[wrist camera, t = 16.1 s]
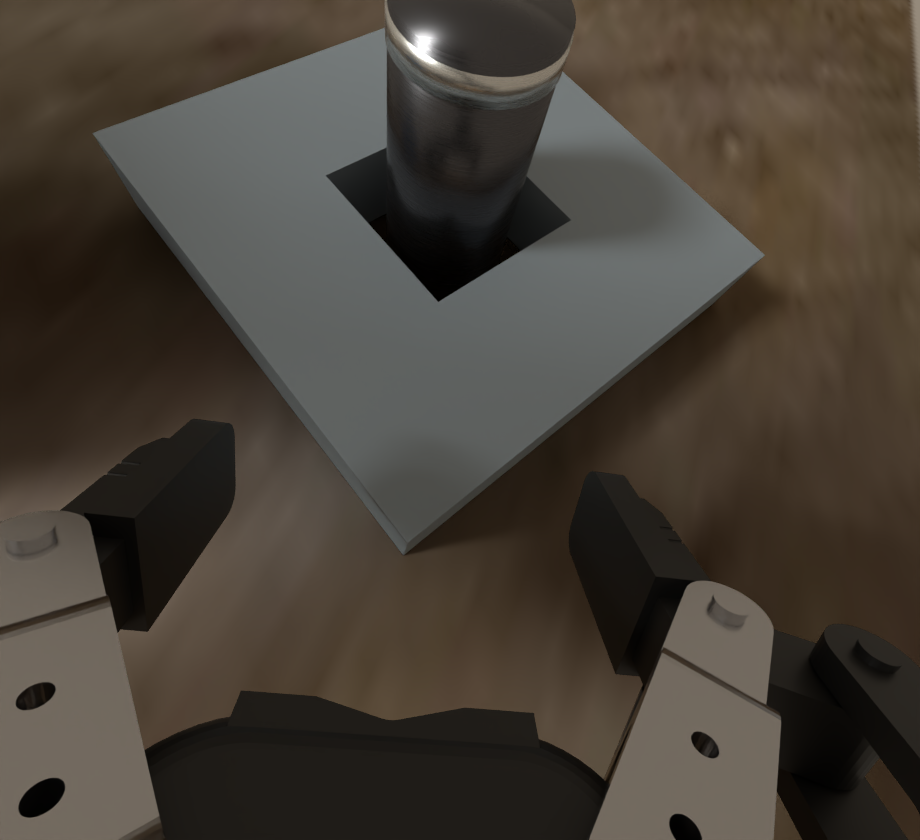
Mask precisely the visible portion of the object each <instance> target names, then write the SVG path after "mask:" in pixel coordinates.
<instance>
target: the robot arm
mask: <svg viewBox="0 0 920 840" xmlns="http://www.w3.org/2000/svg"><path fill="white" fill-rule="evenodd" d="M234 495H235V436H234V429H233V426H232V425H231V424H230V423H222V422H214V421H206V420H199V419H192V420H190V421H189V422H188V423H187V424H186V425H185V426H183V427H182V428H181V429H180V430H179V431H178V432H176V433H175V434H174V435H173V436H172V437H171V438H161V439H158V440H156V441H153V442H151V443H148V444H146V445H143V446H141V447H139V448H137V449H136V450H135V451H133V452H132V453H131V454H130V455H128V456H127V457H126V458H125V459H123V460H122V462H121V464H117V465H116V466H115V467H113V468H112V469H111V470H110V471H109V472H108V474H107V475H104V476H102V477H101V478H100V479H99V480H97V481H96V482H95V483H94V484H92V485H91V486H90V487H89V488H87V489H86V490H85V491H84V492H82V493H81V494H80V495H79V496H77V497H76V498H75V499H74V500H73V501H71V502H70V503H69V504H68V505H66V506H65V507H64V508H63V509H61V510H60V511H40V512H33V513H28V514H24V515H19V516H16V517H13V518H9V519H7V520H4V521H1V522H0V840H773V838H774V823H775V808H776V793H777V792H778V794H779V796H780V798H781V800H782V802H783V804H784V806H785V808H786V809H787V811H788V813H789V815H790V817H791V819H792V821H793V823H794V825H795V827H796V828H797V830H798V832H799V834H800V836H801V838H802V840H908V839H907V837H906V836H905V835H904V833H903V832H902V830H901V829H900V827H899V826H898V824H897V823H896V822H895V820H894V819H893V817H892V816H891V814H890V813H889V811H888V810H887V809H886V807H885V806H884V804H883V803H882V801H881V800H880V799H879V797H878V796H877V794H876V793H875V791H874V790H873V788H872V787H871V786H870V784H869V783H868V781H867V780H866V778H865V776H866V774H867V773H868V772H869V770H870V769H871V768H872V767H873V765H874V764H875V763H876V762H877V760H878V759H879V758H880V759H881V760H882V761H883V763H884V764H885V765H886V767H887V768H888V769H889V771H890V772H891V773H892V775H893V776H894V777H895V779H896V780H897V781H898V783H899V784H900V785H901V787H902V788H903V789H904V791H905V792H906V793H907V795H908V796H909V797H910V799H911V800H912V802H913V803H914V805H915V806H916V808H917V810H918V812H919V814H920V668H919V667H918V666H917V665H916V664H915V663H914V662H913V661H912V660H911V659H910V658H909V657H908V656H906V655H905V654H904V653H903V652H902V651H900V650H899V649H897V648H896V647H895V646H893V645H892V644H890V643H888V642H887V641H885V640H883V639H882V638H880V637H878V636H876V635H874V634H872V633H870V632H868V631H865V630H862V629H860V628H857V627H854V626H850V625H845V624H832V625H829V626H828V627H827V628H826V629H825V630H824V632H823V634H822V635H821V637H820V638H819V640H818V642H817V643H813V642H810V641H807V640H804V639H801V638H798V637H795V636H792V635H789V634H786V633H783V632H780V631H777V630H774V629H773V625H772V623H771V621H770V619H769V617H768V616H767V615H766V613H765V612H764V611H763V610H762V609H761V608H760V607H759V606H758V605H757V604H756V603H755V602H753V601H752V600H751V599H749V598H748V597H746V596H745V595H743V594H742V593H740V592H738V591H736V590H734V589H732V588H730V587H728V586H725V585H722V584H719V583H715V582H711V581H710V579H709V578H708V576H707V575H706V574H705V572H704V571H703V569H702V568H701V567H700V565H699V564H698V562H697V561H696V560H695V558H694V557H693V556H692V554H691V553H690V551H689V550H688V549H687V547H686V546H685V544H682V543H681V541H682V540H681V539H680V538H679V536H678V535H677V533H676V532H675V531H672V526H671V525H670V524H669V522H668V521H667V519H666V518H665V517H664V515H663V514H662V513H661V512H660V511H659V510H657V509H656V508H655V507H654V506H652V505H651V504H650V503H649V502H647V501H646V500H645V499H642V498H639V496H638V495H637V493H636V492H635V491H634V489H633V488H632V486H631V485H630V483H629V482H628V480H627V479H626V477H625V476H623V475H617V474H609V473H602V472H594V471H591V472H590V473H589V474H588V475H587V476H586V479H585V481H584V484H583V488H582V491H581V494H580V497H579V501H578V504H577V507H576V510H575V514H574V517H573V520H572V523H571V527H570V532H569V549H570V553H571V556H572V559H573V562H574V564H575V567H576V570H577V572H578V575H579V578H580V580H581V583H582V586H583V588H584V591H585V594H586V596H587V599H588V602H589V604H590V607H591V610H592V612H593V615H594V618H595V620H596V623H597V626H598V628H599V631H600V634H601V636H602V639H603V642H604V644H605V647H606V650H607V652H608V655H609V658H610V660H611V663H612V666H613V668H614V671H615V674H620V675H632V676H640V678H641V681H642V683H643V685H642V688H641V690H640V692H639V694H638V697H637V699H636V701H635V704H634V706H633V709H632V711H631V714H630V716H629V719H628V721H627V723H626V726H625V728H624V731H623V733H622V736H621V738H620V741H619V743H618V745H617V748H616V750H615V753H614V755H613V758H612V760H611V763H610V765H609V767H608V770H607V772H606V775H605V777H604V779H603V778H601V777H600V776H599V775H598V774H597V773H596V772H595V771H593V770H592V769H591V768H590V767H588V766H587V765H586V764H584V763H583V762H582V761H580V760H579V759H577V758H576V757H574V756H572V755H571V754H569V753H567V752H566V751H564V750H562V749H560V748H558V747H556V746H554V745H552V744H550V743H548V742H545V741H542V740H539V739H538V734H537V729H536V723H535V718H534V713H526V712H513V711H500V710H487V709H474V708H461V709H456V710H450V711H445V712H439V713H434V714H428V715H423V716H417V717H412V718H406V719H401V720H385V719H381V718H378V717H375V716H372V715H369V714H367V713H364V712H361V711H358V710H355V709H352V708H349V707H346V706H343V705H340V704H337V703H334V702H331V701H328V700H325V699H322V698H320V697H317V696H305V695H292V694H279V693H266V692H253V691H241V692H240V695H239V697H238V700H237V702H236V704H235V707H234V709H233V712H232V714H231V717H226V718H221V719H216V720H213V721H209V722H206V723H202V724H199V725H196V726H193V727H191V728H188V729H186V730H183V731H181V732H178V733H176V734H174V735H172V736H170V737H168V738H166V739H164V740H162V741H160V742H158V743H156V744H154V745H152V746H151V747H149V748H147V749H146V750H144V747H143V743H142V738H141V734H140V730H139V725H138V721H137V716H136V712H135V708H134V703H133V699H132V695H131V690H130V686H129V682H128V677H127V673H126V669H125V664H124V660H123V656H122V651H121V647H120V643H119V638H118V634H117V633H118V632H119V630H120V629H123V630H135V631H146V632H148V631H149V629H150V628H151V626H152V625H153V623H154V622H155V620H156V619H157V617H158V616H159V614H160V613H161V612H162V610H163V609H164V607H165V606H166V604H167V603H168V601H169V600H170V598H171V597H172V595H173V594H174V593H175V591H176V590H177V588H178V587H179V585H180V584H181V582H182V581H183V579H184V578H185V576H186V575H187V574H188V572H189V571H190V569H191V568H192V566H193V565H194V563H195V562H196V560H197V559H198V557H199V556H200V555H201V553H202V552H203V550H204V549H205V547H206V546H207V544H208V543H209V541H210V540H211V538H212V537H213V536H214V534H215V533H216V531H217V530H218V528H219V527H220V525H221V524H222V522H223V521H224V519H225V518H226V517H227V515H228V513H229V511H230V509H231V507H232V504H233V500H234Z"/></svg>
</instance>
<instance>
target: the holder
mask: <svg viewBox="0 0 920 840" xmlns="http://www.w3.org/2000/svg"><path fill="white" fill-rule="evenodd" d="M93 135H94V136H95V138H96V139H97V141H98V143H99V144H100V146H101V148H102V149H103V151H104V152H105V154H106V156H107V157H108V159H109V161H110V162H111V164H112V165H113V167H114V169H115V170H116V172H117V174H118V175H119V177H120V178H121V180H122V182H123V183H124V185H125V187H126V188H127V190H128V191H129V193H130V195H131V196H132V198H133V200H134V201H135V203H136V204H137V206H138V208H139V209H140V210H141V211H142V213H143V214H144V215H145V217H146V218H147V219H148V221H149V222H150V223H151V225H152V226H153V227H154V229H155V230H156V231H157V232H158V234H159V235H160V236H161V238H162V239H163V240H164V242H165V243H166V244H167V246H168V247H169V248H170V250H171V251H172V252H173V254H174V255H175V256H176V257H177V259H178V260H179V261H180V263H181V264H182V265H183V267H184V268H185V269H186V271H187V272H188V273H189V275H190V276H191V277H192V278H193V280H194V281H195V282H196V284H197V285H198V286H199V288H200V289H201V290H202V292H203V293H204V294H205V296H206V297H207V298H208V299H209V301H210V302H211V303H212V305H213V306H214V307H215V309H216V310H217V311H218V313H219V314H220V315H221V317H222V318H223V319H224V320H225V322H226V323H227V324H228V326H229V327H230V328H231V330H232V331H233V332H234V334H235V335H236V336H237V338H238V339H239V340H240V342H241V343H242V344H243V345H244V347H245V348H246V349H247V351H248V352H249V353H250V355H251V356H252V357H253V359H254V360H255V361H256V363H257V364H258V365H259V366H260V368H261V369H262V370H263V372H264V373H265V374H266V376H267V377H268V378H269V380H270V381H271V382H272V384H273V385H274V386H275V387H276V389H277V390H278V391H279V393H280V394H281V395H282V397H283V398H284V399H285V401H286V402H287V403H288V405H289V406H290V407H291V408H292V410H293V411H294V412H295V414H296V415H297V416H298V418H299V419H300V420H301V422H302V423H303V424H304V426H305V427H306V428H307V430H308V431H309V432H310V433H311V435H312V436H313V437H314V439H315V440H316V441H317V443H318V444H319V445H320V447H321V448H322V449H323V451H324V452H325V453H326V454H327V456H328V457H329V458H330V460H331V461H332V462H333V464H334V465H335V466H336V468H337V469H338V470H339V472H340V473H341V474H342V475H343V477H344V478H345V479H346V481H347V482H348V483H349V485H350V486H351V487H352V489H353V490H354V491H355V493H356V494H357V495H358V496H359V498H360V499H361V500H362V502H363V503H364V504H365V506H366V507H367V508H368V510H369V511H370V512H371V514H372V515H373V516H374V518H375V519H376V520H377V521H378V523H379V524H380V525H381V527H382V528H383V529H384V531H385V532H386V533H387V535H388V536H389V537H390V539H391V540H392V541H393V542H394V544H395V545H396V546H397V548H398V549H399V550H400V552H401V553H402V554H403V555H404V554H406V553H407V552H408V551H409V550H411V549H412V548H413V547H414V546H416V545H417V544H418V543H419V542H420V541H422V540H423V539H424V538H425V537H427V536H428V535H429V534H430V533H432V532H433V531H434V530H435V529H436V528H438V527H439V526H440V525H441V524H443V523H444V522H445V521H446V520H448V519H449V518H450V517H451V516H452V515H454V514H455V513H456V512H457V511H459V510H460V509H461V508H462V507H464V506H465V505H466V504H467V503H468V502H470V501H471V500H472V499H473V498H475V497H476V496H477V495H478V494H480V493H481V492H482V491H483V490H484V489H486V488H487V487H488V486H489V485H491V484H492V483H493V482H494V481H496V480H497V479H498V478H499V477H500V476H502V475H503V474H504V473H505V472H507V471H508V470H509V469H510V468H512V467H513V466H514V465H515V464H516V463H518V462H519V461H520V460H521V459H523V458H524V457H525V456H526V455H528V454H529V453H530V452H531V451H532V450H534V449H535V448H536V447H537V446H539V445H540V444H541V443H542V442H543V441H545V440H546V439H547V438H548V437H550V436H551V435H552V434H553V433H555V432H556V431H557V430H558V429H559V428H561V427H562V426H563V425H564V424H566V423H567V422H568V421H569V420H571V419H572V418H573V417H574V416H575V415H577V414H578V413H579V412H580V411H582V410H583V409H584V408H585V407H587V406H588V405H589V404H590V403H591V402H593V401H594V400H595V399H596V398H598V397H599V396H600V395H601V394H603V393H604V392H605V391H606V390H607V389H609V388H610V387H611V386H612V385H614V384H615V383H616V382H617V381H619V380H620V379H621V378H622V377H623V376H625V375H626V374H627V373H628V372H630V371H631V370H632V369H633V368H635V367H636V366H637V365H638V364H639V363H641V362H642V361H643V360H644V359H646V358H647V357H648V356H649V355H651V354H652V353H653V352H654V351H655V350H657V349H658V348H659V347H660V346H662V345H663V344H664V343H665V342H667V341H668V340H669V339H670V338H671V337H673V336H674V335H675V334H676V333H678V332H679V331H680V330H681V329H683V328H684V327H685V326H686V325H687V324H689V323H690V322H691V321H692V320H694V319H695V318H696V317H697V316H699V315H700V314H701V313H702V312H703V311H705V310H706V309H707V308H708V307H710V306H711V305H712V304H713V303H714V302H715V301H716V300H717V299H719V298H720V297H721V296H722V295H723V294H724V293H725V292H726V291H727V290H728V289H729V288H730V287H731V286H732V285H734V284H735V283H736V282H737V281H738V280H739V279H740V278H741V277H742V276H743V275H744V274H745V273H746V272H747V271H749V270H750V269H751V268H752V267H753V266H754V265H755V264H756V263H757V262H758V261H759V260H760V259H761V258H762V257H764V256H765V255H764V254H763V253H762V252H761V251H760V250H759V249H757V248H756V247H755V246H754V245H753V244H752V243H751V242H750V241H749V240H748V239H746V238H745V237H744V236H743V235H742V234H741V233H740V232H739V231H738V230H736V229H735V228H734V227H733V226H732V225H731V224H730V223H729V222H728V221H727V220H725V219H724V218H723V217H722V216H721V215H720V214H719V213H718V212H717V211H716V210H714V209H713V208H712V207H711V206H710V205H709V204H708V203H707V202H706V201H705V200H703V199H702V198H701V197H700V196H699V195H698V194H697V193H696V192H695V191H693V190H692V189H691V188H690V187H689V186H688V185H687V184H686V183H685V182H684V181H682V180H681V179H680V178H679V177H678V176H677V175H676V174H675V173H674V172H673V171H671V170H670V169H669V168H668V167H667V166H666V165H665V164H664V163H663V162H661V161H660V160H659V159H658V158H657V157H656V156H655V155H654V154H653V153H652V152H650V151H649V150H648V149H647V148H646V147H645V146H644V145H643V144H642V143H641V142H639V141H638V140H637V139H636V138H635V137H634V136H633V135H632V134H631V133H630V132H628V131H627V130H626V129H625V128H624V127H623V126H622V125H621V124H620V123H618V122H617V121H616V120H615V119H614V118H613V117H612V116H611V115H610V114H609V113H607V112H606V111H605V110H604V109H603V108H602V107H601V106H600V105H599V104H598V103H596V102H595V101H594V100H593V99H592V98H591V97H590V96H589V95H588V94H586V93H585V92H584V91H583V90H582V89H581V88H580V87H579V86H578V85H577V84H575V83H574V82H573V81H572V80H571V79H570V78H569V77H568V76H567V75H566V74H564V73H563V72H562V74H561V77H560V80H559V81H558V83H557V85H556V87H555V90H554V93H553V96H552V99H551V102H550V105H549V109H548V112H547V115H546V118H545V121H544V124H543V127H542V130H541V133H540V136H539V139H538V142H537V145H536V149H535V152H534V155H533V158H532V161H531V164H530V167H529V170H528V173H527V176H526V179H525V182H524V185H523V188H522V192H521V195H520V198H519V201H518V204H517V207H516V210H515V213H514V216H513V219H512V222H511V225H510V228H509V232H508V235H507V237H508V238H509V239H510V240H511V241H512V242H513V243H514V244H515V245H516V246H517V248H518V249H519V250H520V252H519V253H517V254H515V255H514V256H512V257H510V258H509V259H507V260H506V261H504V262H502V263H501V264H499V265H497V266H496V267H494V268H493V269H491V270H489V271H488V272H486V273H484V274H483V275H481V276H480V277H478V278H476V279H475V280H473V281H471V282H470V283H468V284H467V285H465V286H463V287H462V288H460V289H458V290H457V291H455V292H454V293H452V294H450V295H449V296H447V297H445V298H444V299H442V300H441V301H439V302H438V301H437V300H436V299H435V298H434V297H433V296H432V294H431V293H430V292H429V291H428V290H427V289H426V288H425V287H424V285H423V284H422V283H421V282H420V281H419V280H418V279H417V278H416V276H415V275H414V274H413V273H412V272H411V271H410V270H409V269H408V268H407V266H406V265H405V264H404V263H403V262H402V261H401V260H400V259H399V257H398V256H397V255H396V254H395V253H394V252H393V251H392V250H391V248H390V247H389V246H388V245H387V244H386V243H385V242H384V241H383V239H382V238H381V237H380V236H379V235H378V234H377V233H376V232H375V230H374V229H373V228H372V227H371V226H370V225H369V224H368V223H369V222H371V221H373V220H375V219H377V218H379V217H380V216H382V215H384V214H386V208H387V46H386V42H385V28H383V29H381V30H378V31H375V32H372V33H370V34H367V35H364V36H361V37H358V38H356V39H353V40H350V41H347V42H345V43H342V44H339V45H336V46H333V47H331V48H328V49H325V50H322V51H320V52H317V53H314V54H311V55H308V56H306V57H303V58H300V59H297V60H295V61H292V62H289V63H286V64H283V65H281V66H278V67H275V68H272V69H270V70H267V71H264V72H261V73H258V74H256V75H253V76H250V77H247V78H245V79H242V80H239V81H236V82H233V83H231V84H228V85H225V86H222V87H220V88H217V89H214V90H211V91H208V92H206V93H203V94H200V95H197V96H195V97H192V98H189V99H186V100H183V101H181V102H178V103H175V104H172V105H170V106H167V107H164V108H161V109H158V110H156V111H153V112H150V113H147V114H145V115H142V116H139V117H136V118H133V119H131V120H128V121H125V122H122V123H120V124H117V125H114V126H111V127H108V128H106V129H103V130H100V131H97V132H95V133H93Z"/></svg>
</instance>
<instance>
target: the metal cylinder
mask: <svg viewBox="0 0 920 840" xmlns="http://www.w3.org/2000/svg"><path fill="white" fill-rule="evenodd" d="M575 23H576V15H575V9H574V6H573V3H572V1H571V0H385V42H386V46H387V208H386V244H387V245H388V246H389V247H390V248H391V250H392V251H393V252H394V253H395V254H396V255H397V256H398V257H399V259H400V260H401V261H402V262H403V263H404V264H405V265H406V266H407V268H408V269H409V270H410V271H411V272H412V273H413V274H414V275H415V276H416V278H417V279H418V280H419V281H420V282H421V283H422V284H423V285H424V287H425V288H426V289H427V290H428V291H429V292H430V293H431V294H432V296H433V297H434V298H435V299H436V300H437V301H438V302H439V301H441V300H442V299H444V298H445V297H447V296H449V295H450V294H452V293H454V292H455V291H457V290H458V289H460V288H462V287H463V286H465V285H467V284H468V283H470V282H471V281H473V280H475V279H476V278H478V277H480V276H481V275H483V274H484V273H486V272H488V271H489V270H491V269H493V268H494V267H496V266H497V265H498V262H499V259H500V256H501V253H502V250H503V247H504V244H505V241H506V238H507V235H508V232H509V228H510V225H511V222H512V219H513V216H514V213H515V210H516V207H517V204H518V201H519V198H520V195H521V192H522V188H523V185H524V182H525V179H526V176H527V173H528V170H529V167H530V164H531V161H532V158H533V155H534V152H535V149H536V145H537V142H538V139H539V136H540V133H541V130H542V127H543V124H544V121H545V118H546V115H547V112H548V109H549V105H550V102H551V99H552V96H553V93H554V90H555V87H556V85H557V83H558V81H559V80H560V77H561V74H562V71H563V68H564V65H565V62H566V59H567V56H568V53H569V50H570V47H571V44H572V41H573V34H574V29H575Z"/></svg>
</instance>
